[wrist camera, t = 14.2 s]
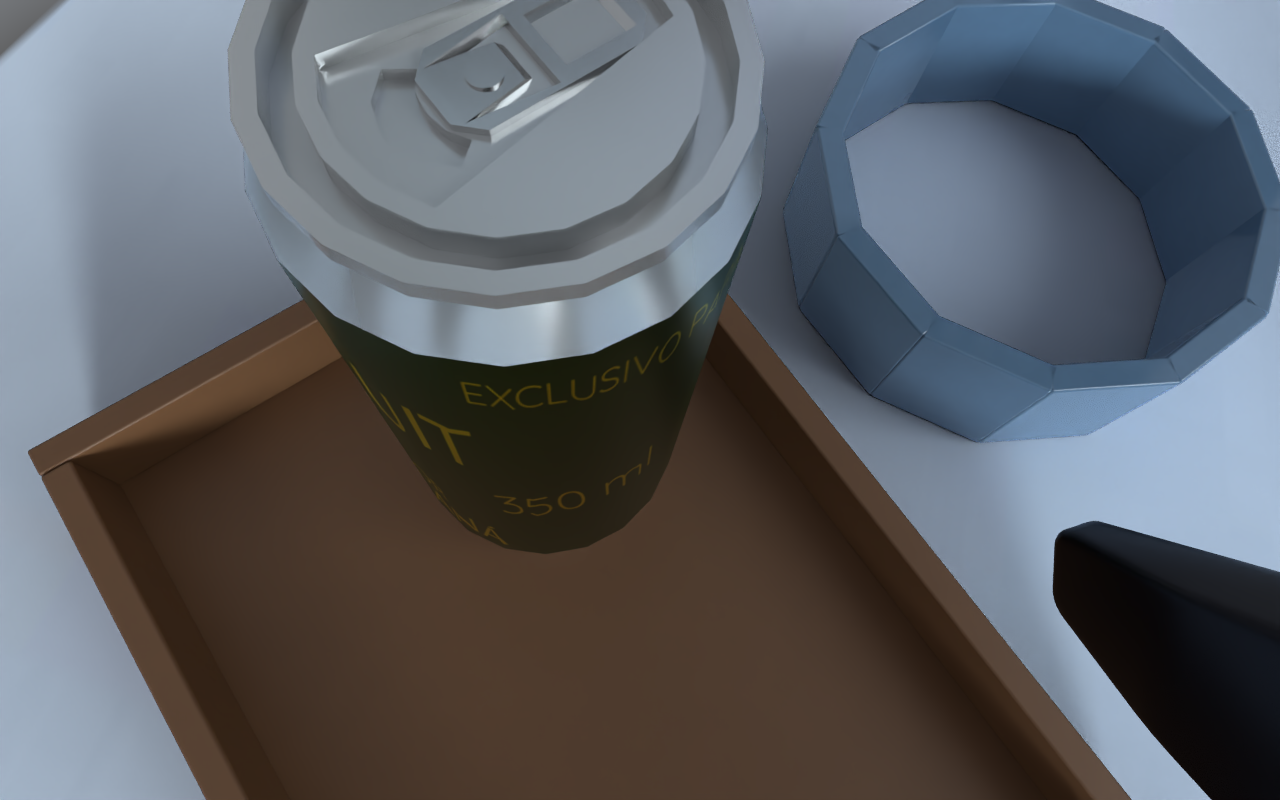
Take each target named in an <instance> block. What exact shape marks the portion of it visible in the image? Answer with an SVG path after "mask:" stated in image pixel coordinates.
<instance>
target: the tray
mask: <svg viewBox="0 0 1280 800" xmlns="http://www.w3.org/2000/svg"><path fill="white" fill-rule="evenodd" d="M28 454H29V456H30V458H31V460H32V462H33V464H34V466H35V467H36V469H37V471H38V473H39V475H41V476H42V481H43V482H44V484H45V486H46V488H47V490H48V492H49V494H50V496H51V498H52V500H53V502H54V504H55V506H56V508H57V510H58V512H59V514H60V516H61V518H62V520H63V521H64V523H65V525H66V527H67V529H68V531H69V533H70V535H71V537H72V539H73V541H74V543H75V545H76V547H77V549H78V551H79V553H80V555H81V557H82V559H83V561H84V562H85V564H86V566H87V568H88V570H89V572H90V574H91V576H92V578H93V580H94V582H95V584H96V586H97V588H98V590H99V592H100V594H101V596H102V598H103V600H104V601H105V603H106V605H107V607H108V609H109V611H110V613H111V615H112V617H113V619H114V621H115V623H116V625H117V627H118V629H119V631H120V633H121V635H122V637H123V639H124V640H125V642H126V644H127V646H128V648H129V650H130V652H131V654H132V656H133V658H134V660H135V662H136V664H137V666H138V668H139V670H140V672H141V674H142V676H143V678H144V679H145V681H146V683H147V685H148V687H149V689H150V691H151V693H152V695H153V697H154V699H155V701H156V703H157V705H158V707H159V709H160V711H161V713H162V715H163V717H164V719H165V720H166V722H167V724H168V726H169V728H170V730H171V732H172V734H173V736H174V738H175V740H176V742H177V744H178V746H179V748H180V750H181V752H182V754H183V756H184V758H185V759H186V761H187V763H188V765H189V767H190V769H191V771H192V773H193V775H194V777H195V779H196V781H197V783H198V785H199V787H200V789H201V791H202V793H203V795H204V797H205V798H206V800H1131V798H1130V797H1129V796H1128V795H1127V793H1126V792H1125V791H1124V790H1123V788H1122V787H1121V786H1120V785H1119V783H1118V782H1117V781H1116V780H1115V778H1114V777H1113V776H1112V775H1111V773H1110V772H1109V771H1108V770H1107V768H1106V767H1105V766H1104V765H1103V763H1102V762H1101V761H1100V760H1099V758H1098V757H1097V756H1096V754H1095V753H1094V752H1093V751H1092V749H1091V748H1090V747H1089V746H1088V744H1087V743H1086V742H1085V741H1084V739H1083V738H1082V737H1081V736H1080V734H1079V733H1078V732H1077V731H1076V729H1075V728H1074V727H1073V726H1072V724H1071V723H1070V722H1069V721H1068V719H1067V718H1066V717H1065V716H1064V714H1063V713H1062V712H1061V711H1060V709H1059V708H1058V707H1057V706H1056V704H1055V703H1054V702H1053V701H1052V699H1051V698H1050V697H1049V696H1048V694H1047V693H1046V692H1045V691H1044V689H1043V688H1042V687H1041V686H1040V684H1039V683H1038V682H1037V681H1036V679H1035V678H1034V677H1033V676H1032V674H1031V673H1030V672H1029V671H1028V669H1027V668H1026V667H1025V665H1024V664H1023V663H1022V662H1021V660H1020V659H1019V658H1018V657H1017V655H1016V654H1015V653H1014V652H1013V650H1012V649H1011V648H1010V647H1009V645H1008V644H1007V643H1006V642H1005V640H1004V639H1003V638H1002V637H1001V635H1000V634H999V633H998V632H997V630H996V629H995V628H994V627H993V625H992V624H991V623H990V622H989V620H988V619H987V618H986V617H985V615H984V614H983V613H982V612H981V610H980V609H979V608H978V607H977V605H976V604H975V603H974V602H973V600H972V599H971V598H970V597H969V595H968V594H967V593H966V592H965V590H964V589H963V588H962V587H961V585H960V584H959V583H958V581H957V580H956V579H955V578H954V576H953V575H952V574H951V573H950V571H949V570H948V569H947V568H946V566H945V565H944V564H943V563H942V561H941V560H940V559H939V558H938V556H937V555H936V554H935V553H934V551H933V550H932V549H931V548H930V546H929V545H928V544H927V543H926V541H925V540H924V539H923V538H922V536H921V535H920V534H919V533H918V531H917V530H916V529H915V528H914V526H913V525H912V524H911V523H910V521H909V520H908V519H907V518H906V516H905V515H904V514H903V513H902V511H901V510H900V509H899V508H898V506H897V505H896V504H895V503H894V501H893V500H892V499H891V498H890V496H889V495H888V494H887V492H886V491H885V490H884V489H883V487H882V486H881V485H880V484H879V482H878V481H877V480H876V479H875V477H874V476H873V475H872V474H871V472H870V471H869V470H868V469H867V467H866V466H865V465H864V464H863V462H862V461H861V460H860V459H859V457H858V456H857V455H856V454H855V452H854V451H853V450H852V449H851V447H850V446H849V445H848V444H847V442H846V441H845V440H844V439H843V437H842V436H841V435H840V434H839V432H838V431H837V430H836V429H835V427H834V426H833V425H832V424H831V422H830V421H829V420H828V419H827V417H826V416H825V415H824V414H823V412H822V411H821V410H820V408H819V407H818V406H817V405H816V403H815V402H814V401H813V400H812V398H811V397H810V396H809V395H808V393H807V392H806V391H805V390H804V388H803V387H802V386H801V385H800V383H799V382H798V381H797V380H796V378H795V377H794V376H793V375H792V373H791V372H790V371H789V370H788V368H787V367H786V366H785V365H784V363H783V362H782V361H781V360H780V358H779V357H778V356H777V355H776V353H775V352H774V351H773V350H772V348H771V347H770V346H769V345H768V343H767V342H766V341H765V340H764V338H763V337H762V336H761V335H760V333H759V332H758V331H757V330H756V328H755V327H754V326H753V325H752V323H751V322H750V321H749V319H748V318H747V317H746V316H745V314H744V313H743V312H742V311H741V309H740V308H739V307H738V306H737V304H736V303H735V302H734V301H733V299H732V298H731V297H730V296H729V294H728V293H727V296H726V299H725V302H724V305H723V308H722V311H721V314H720V316H719V319H718V322H717V325H716V328H715V331H714V334H713V337H712V339H711V342H710V345H709V348H708V351H707V354H706V357H705V360H704V362H703V365H702V368H701V371H700V374H699V377H698V380H697V382H696V385H695V388H694V391H693V394H692V397H691V400H690V403H689V405H688V408H687V411H686V414H685V417H684V420H683V423H682V426H681V428H680V431H679V434H678V437H677V440H676V443H675V446H674V449H673V451H672V454H671V457H670V460H669V463H668V465H667V467H666V470H665V472H664V474H663V476H662V478H661V480H660V482H659V484H658V486H657V488H656V490H655V492H654V494H653V496H652V499H651V500H650V501H649V502H648V503H647V504H646V505H645V506H644V507H643V508H642V509H641V510H640V511H639V512H638V513H637V514H636V515H635V516H634V517H633V518H632V519H631V520H630V522H629V523H628V524H627V525H626V526H625V527H624V528H622V529H620V530H618V531H616V532H615V533H613V534H611V535H609V536H607V537H605V538H603V539H601V540H599V541H597V542H596V543H594V544H592V545H590V546H588V547H584V548H579V549H573V550H567V551H562V552H556V553H550V554H540V553H533V552H526V551H519V550H512V549H505V548H503V547H501V546H499V545H497V544H495V543H493V542H491V541H488V540H486V539H484V538H482V537H480V536H478V535H476V534H474V533H472V532H470V531H468V530H467V529H466V528H465V527H464V526H463V525H462V524H461V523H460V522H459V521H458V520H457V519H456V518H455V517H454V516H453V515H452V514H451V513H450V512H449V511H448V510H447V509H446V508H445V507H444V506H443V505H442V504H441V503H440V502H439V500H438V499H437V497H436V496H435V494H434V493H433V491H432V490H431V488H430V487H429V485H428V484H427V483H426V481H425V480H424V478H423V477H422V475H421V474H420V472H419V471H418V469H417V468H416V466H415V465H414V463H413V462H412V460H411V459H410V457H409V456H408V454H407V453H406V451H405V450H404V448H403V447H402V445H401V444H400V442H399V441H398V439H397V438H396V436H395V435H394V433H393V432H392V430H391V429H390V427H389V426H388V424H387V423H386V421H385V420H384V418H383V417H382V415H381V414H380V412H379V411H378V409H377V408H376V406H375V405H374V403H373V402H372V400H371V399H370V397H369V396H368V395H367V393H366V392H365V390H364V389H363V387H362V386H361V384H360V383H359V381H358V380H357V378H356V377H355V375H354V374H353V372H352V371H351V369H350V368H349V366H348V365H347V363H346V362H345V360H344V359H343V357H342V356H341V354H340V353H339V351H338V350H337V348H336V347H335V345H334V344H333V342H332V341H331V339H330V338H329V336H328V335H327V333H326V332H325V330H324V329H323V327H322V326H321V324H320V323H319V321H318V320H317V318H316V317H315V315H314V314H313V312H312V311H311V310H310V308H309V307H308V305H307V304H306V302H305V301H304V299H303V300H302V301H300V302H298V303H296V304H294V305H292V306H291V307H289V308H287V309H285V310H283V311H282V312H280V313H278V314H276V315H274V316H272V317H271V318H269V319H267V320H265V321H263V322H262V323H260V324H258V325H256V326H254V327H252V328H251V329H249V330H247V331H245V332H243V333H242V334H240V335H238V336H236V337H234V338H232V339H231V340H229V341H227V342H225V343H223V344H222V345H220V346H218V347H216V348H214V349H212V350H211V351H209V352H207V353H205V354H203V355H202V356H200V357H198V358H196V359H194V360H192V361H191V362H189V363H187V364H185V365H183V366H182V367H180V368H178V369H176V370H174V371H172V372H171V373H169V374H167V375H165V376H163V377H162V378H160V379H158V380H156V381H154V382H152V383H151V384H149V385H147V386H145V387H143V388H142V389H140V390H138V391H136V392H134V393H132V394H131V395H129V396H127V397H125V398H123V399H122V400H120V401H118V402H116V403H114V404H112V405H111V406H109V407H107V408H105V409H103V410H101V411H100V412H98V413H96V414H94V415H92V416H91V417H89V418H87V419H85V420H83V421H81V422H80V423H78V424H76V425H74V426H72V427H71V428H69V429H67V430H65V431H63V432H61V433H60V434H58V435H56V436H54V437H52V438H51V439H49V440H47V441H45V442H43V443H41V444H40V445H38V446H36V447H34V448H32V449H31V450H29V451H28Z"/></svg>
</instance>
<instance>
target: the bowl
mask: <svg viewBox="0 0 1280 800" xmlns="http://www.w3.org/2000/svg"><path fill="white" fill-rule="evenodd" d="M978 100H992V101H995V102H997V103H1000V104H1002V105H1005V106H1007V107H1010V108H1012V109H1015V110H1017V111H1019V112H1022V113H1024V114H1027V115H1029V116H1032V117H1034V118H1037V119H1039V120H1042V121H1044V122H1046V123H1049V124H1051V125H1054V126H1056V127H1059V128H1061V129H1064V130H1066V131H1069V132H1071V133H1073V134H1076V135H1077V136H1078V137H1079V138H1080V139H1081V140H1082V141H1083V142H1084V143H1085V144H1086V145H1087V146H1088V147H1089V148H1090V149H1091V150H1092V151H1093V152H1094V153H1095V154H1096V155H1097V156H1098V157H1099V158H1100V159H1101V160H1102V161H1103V162H1104V163H1105V164H1106V165H1107V166H1108V167H1109V168H1110V169H1111V170H1112V171H1113V172H1114V173H1115V174H1116V175H1117V176H1118V177H1119V178H1120V179H1121V180H1122V181H1123V183H1124V184H1125V185H1126V186H1127V187H1128V188H1129V189H1130V190H1131V191H1132V192H1133V193H1134V194H1135V195H1136V196H1137V197H1138V198H1139V199H1140V202H1141V205H1142V208H1143V211H1144V214H1145V217H1146V221H1147V224H1148V227H1149V230H1150V233H1151V236H1152V239H1153V242H1154V245H1155V248H1156V252H1157V255H1158V258H1159V261H1160V264H1161V267H1162V270H1163V273H1164V276H1165V280H1166V285H1165V289H1164V292H1163V296H1162V299H1161V303H1160V307H1159V310H1158V314H1157V318H1156V321H1155V325H1154V329H1153V332H1152V336H1151V339H1150V343H1149V347H1148V350H1147V354H1146V358H1145V359H1134V360H1119V361H1103V362H1088V363H1073V364H1057V365H1052V364H1049V363H1047V362H1045V361H1042V360H1040V359H1038V358H1036V357H1033V356H1031V355H1029V354H1026V353H1024V352H1022V351H1019V350H1017V349H1015V348H1012V347H1010V346H1008V345H1005V344H1003V343H1001V342H998V341H996V340H994V339H992V338H989V337H987V336H985V335H982V334H980V333H978V332H975V331H973V330H971V329H968V328H966V327H964V326H961V325H959V324H957V323H955V322H952V321H950V320H948V319H945V318H943V317H941V316H939V315H938V314H937V313H936V312H935V311H934V309H933V308H932V307H931V306H930V305H929V304H928V303H927V301H926V300H925V299H924V298H923V297H922V296H921V294H920V293H919V292H918V291H917V290H916V289H915V288H914V286H913V285H912V284H911V283H910V282H909V281H908V280H907V278H906V277H905V276H904V275H903V274H902V273H901V271H900V270H899V269H898V268H897V267H896V266H895V265H894V263H893V262H892V261H891V260H890V259H889V258H888V256H887V255H886V254H885V253H884V252H883V251H882V250H881V248H880V247H879V246H878V245H877V244H876V243H875V241H874V240H873V239H872V238H871V237H870V236H869V235H868V233H867V232H866V231H865V230H864V229H863V228H862V224H861V219H860V214H859V209H858V204H857V199H856V194H855V189H854V184H853V179H852V174H851V169H850V164H849V159H848V154H847V149H846V144H845V140H846V139H848V138H849V137H851V136H853V135H854V134H856V133H858V132H859V131H861V130H863V129H864V128H866V127H868V126H869V125H871V124H873V123H874V122H876V121H878V120H879V119H881V118H883V117H884V116H886V115H888V114H889V113H891V112H893V111H894V110H896V109H898V108H899V107H901V106H903V105H904V104H906V103H924V102H951V101H978ZM783 215H784V221H785V227H786V233H787V239H788V245H789V251H790V257H791V263H792V270H793V276H794V282H795V288H796V294H797V300H798V305H799V307H800V310H801V311H802V313H803V314H804V315H805V316H806V318H807V319H808V320H809V321H810V322H811V324H812V325H813V326H814V327H815V328H816V330H817V331H818V332H819V333H820V335H821V336H822V337H823V338H824V339H825V341H826V342H827V343H828V344H829V346H830V347H831V348H832V349H833V350H834V352H835V353H836V354H837V355H838V357H839V358H840V359H841V360H842V361H843V363H844V364H845V365H846V366H847V368H848V369H849V370H850V371H851V372H852V374H853V375H854V376H855V377H856V379H857V380H858V381H859V382H860V383H861V385H862V386H863V387H864V388H865V390H866V391H867V392H868V393H869V394H871V395H872V396H874V397H876V398H878V399H880V400H883V401H885V402H887V403H889V404H892V405H894V406H896V407H898V408H901V409H903V410H905V411H907V412H910V413H912V414H914V415H916V416H919V417H921V418H923V419H925V420H928V421H930V422H932V423H934V424H937V425H939V426H941V427H943V428H946V429H948V430H950V431H952V432H955V433H957V434H959V435H961V436H964V437H966V438H968V439H970V440H973V441H975V442H981V443H984V442H998V441H1011V440H1025V439H1039V438H1053V437H1066V436H1080V435H1088V434H1089V433H1093V432H1095V431H1096V430H1098V429H1100V428H1102V427H1104V426H1105V425H1107V424H1109V423H1111V422H1113V421H1114V420H1116V419H1118V418H1120V417H1122V416H1124V415H1125V414H1127V413H1129V412H1131V411H1133V410H1134V409H1136V408H1138V407H1140V406H1142V405H1143V404H1145V403H1147V402H1149V401H1151V400H1153V399H1154V398H1156V397H1158V396H1160V395H1162V394H1163V393H1165V392H1167V391H1169V390H1171V389H1172V388H1174V387H1176V386H1178V385H1180V384H1182V383H1183V382H1184V381H1186V380H1187V379H1188V378H1190V377H1191V376H1192V375H1193V374H1195V373H1196V372H1197V371H1199V370H1200V369H1201V368H1202V367H1204V366H1205V365H1206V364H1207V363H1209V362H1210V361H1211V360H1213V359H1214V358H1215V357H1216V356H1218V355H1219V354H1220V353H1222V352H1223V351H1224V350H1225V349H1227V348H1228V347H1229V346H1230V345H1232V344H1233V343H1234V342H1236V341H1237V340H1238V339H1239V338H1241V337H1242V336H1243V335H1245V334H1246V333H1247V332H1248V331H1250V330H1251V329H1252V328H1253V327H1255V326H1256V325H1257V324H1259V323H1260V322H1261V321H1262V320H1264V319H1265V318H1266V316H1267V314H1268V313H1269V311H1270V306H1271V302H1272V297H1273V293H1274V288H1275V284H1276V280H1277V275H1278V271H1279V266H1280V181H1279V178H1278V176H1277V173H1276V170H1275V168H1274V165H1273V163H1272V160H1271V157H1270V155H1269V152H1268V150H1267V147H1266V144H1265V142H1264V139H1263V137H1262V134H1261V131H1260V129H1259V126H1258V124H1257V121H1256V118H1255V116H1254V113H1253V111H1252V110H1250V108H1249V106H1248V105H1247V104H1245V103H1244V102H1243V101H1242V100H1241V99H1240V98H1239V97H1238V96H1237V95H1236V94H1235V93H1234V92H1233V91H1232V90H1231V89H1230V88H1228V87H1227V86H1226V85H1225V84H1224V83H1223V82H1222V81H1221V80H1220V79H1219V78H1218V77H1217V76H1216V75H1215V74H1214V73H1213V72H1212V71H1210V70H1209V69H1208V68H1207V67H1206V66H1205V65H1204V64H1203V63H1202V62H1201V61H1200V60H1199V59H1198V58H1197V57H1196V56H1195V55H1194V54H1192V53H1191V52H1190V51H1189V50H1188V49H1187V48H1186V47H1185V46H1184V45H1183V44H1182V43H1181V42H1180V41H1179V40H1178V39H1177V38H1175V37H1174V36H1173V35H1172V34H1171V33H1170V32H1169V31H1168V30H1165V28H1164V27H1162V26H1160V25H1157V24H1154V23H1152V22H1149V21H1147V20H1144V19H1142V18H1139V17H1137V16H1134V15H1132V14H1129V13H1126V12H1124V11H1121V10H1119V9H1116V8H1114V7H1111V6H1109V5H1106V4H1103V3H1101V2H1098V1H1096V0H924V1H922V2H920V3H918V4H917V5H915V6H913V7H911V8H909V9H908V10H906V11H904V12H902V13H901V14H899V15H897V16H895V17H894V18H892V19H890V20H888V21H886V22H885V23H883V24H881V25H879V26H878V27H876V28H874V29H872V30H871V31H869V32H867V33H865V34H863V35H862V36H860V37H859V38H858V39H857V40H856V43H855V45H854V47H853V49H852V51H851V53H850V55H849V57H848V59H847V62H846V64H845V66H844V68H843V70H842V72H841V74H840V76H839V78H838V81H837V83H836V85H835V87H834V89H833V91H832V93H831V95H830V97H829V100H828V102H827V104H826V106H825V108H824V110H823V112H822V114H821V116H820V119H819V121H818V123H817V125H816V127H815V130H814V133H813V135H812V138H811V140H810V143H809V145H808V148H807V150H806V153H805V155H804V158H803V160H802V163H801V165H800V168H799V170H798V173H797V175H796V178H795V180H794V183H793V185H792V188H791V190H790V193H789V195H788V198H787V201H786V203H785V206H784V208H783Z"/></svg>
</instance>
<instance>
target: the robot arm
mask: <svg viewBox="0 0 1280 800" xmlns="http://www.w3.org/2000/svg"><path fill="white" fill-rule="evenodd" d="M1053 596H1054V600H1055V603H1056V606H1057V608H1058V610H1059V612H1060V613H1061V615H1062V616H1063V618H1064V619H1065V621H1066V622H1067V623H1068V624H1069V626H1070V627H1071V628H1072V630H1073V631H1074V632H1075V634H1076V635H1077V636H1078V638H1079V639H1080V640H1081V642H1082V643H1083V644H1084V646H1085V647H1086V648H1087V650H1088V651H1089V652H1090V654H1091V655H1092V656H1093V658H1094V659H1095V660H1096V662H1097V663H1098V664H1099V666H1100V667H1101V668H1102V670H1103V671H1104V672H1105V673H1106V675H1107V676H1108V677H1109V679H1110V680H1111V681H1112V683H1113V684H1114V685H1115V687H1116V688H1117V689H1118V691H1119V692H1120V693H1121V695H1122V696H1123V697H1124V699H1125V700H1126V701H1127V703H1128V704H1129V705H1130V707H1131V708H1132V709H1133V711H1134V712H1135V713H1136V715H1137V716H1138V717H1139V718H1140V720H1141V721H1142V722H1143V723H1144V724H1145V726H1146V727H1147V728H1148V729H1149V731H1150V732H1151V733H1152V734H1153V736H1154V737H1155V738H1156V739H1157V740H1158V741H1159V742H1160V744H1161V745H1162V746H1163V747H1164V748H1165V749H1166V750H1167V752H1168V753H1169V754H1170V755H1171V756H1172V757H1173V758H1174V759H1175V760H1176V761H1177V763H1178V764H1179V765H1180V766H1181V767H1182V768H1183V769H1184V770H1185V771H1186V772H1187V773H1188V775H1189V776H1190V777H1191V778H1192V779H1193V780H1194V781H1195V782H1196V783H1197V784H1198V785H1199V787H1200V788H1201V789H1202V790H1203V791H1204V792H1205V793H1206V794H1207V795H1208V796H1209V797H1210V799H1211V800H1280V572H1278V571H1274V570H1271V569H1267V568H1263V567H1260V566H1256V565H1253V564H1249V563H1246V562H1242V561H1239V560H1235V559H1231V558H1228V557H1224V556H1221V555H1217V554H1214V553H1210V552H1207V551H1203V550H1199V549H1196V548H1192V547H1189V546H1185V545H1182V544H1178V543H1174V542H1171V541H1167V540H1164V539H1160V538H1157V537H1153V536H1150V535H1146V534H1142V533H1139V532H1135V531H1132V530H1128V529H1125V528H1121V527H1117V526H1114V525H1110V524H1107V523H1103V522H1099V521H1091V522H1086V523H1083V524H1080V525H1077V526H1075V527H1072V528H1069V529H1066V530H1063V531H1062V532H1060V533H1059V534H1058V536H1057V538H1056V540H1055V547H1054V572H1053Z"/></svg>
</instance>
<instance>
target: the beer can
mask: <svg viewBox="0 0 1280 800" xmlns="http://www.w3.org/2000/svg"><path fill="white" fill-rule="evenodd" d="M764 65H765V60H764V56H763V53H762V49H761V46H760V42H759V39H758V35H757V32H756V28H755V25H754V21H753V18H752V14H751V11H750V7H749V4H748V0H246V1H245V3H244V6H243V9H242V12H241V14H240V17H239V20H238V23H237V25H236V28H235V31H234V34H233V36H232V39H231V42H230V45H229V48H228V68H229V92H230V115H231V122H232V124H233V126H234V128H235V130H236V132H237V135H238V137H239V139H240V141H241V143H242V145H243V153H244V175H245V192H246V194H247V196H248V198H249V200H250V202H251V205H252V207H253V209H254V211H255V213H256V215H257V217H258V220H259V222H260V224H261V226H262V228H263V230H264V233H265V235H266V237H267V239H268V241H269V243H270V246H271V248H272V250H273V252H274V254H275V256H276V259H277V260H278V262H279V263H280V265H281V266H282V268H283V269H284V271H285V272H286V274H287V275H288V277H289V278H290V280H291V281H292V283H293V284H294V286H295V287H296V289H297V290H298V292H299V293H300V295H301V296H302V298H303V299H304V301H305V302H306V304H307V305H308V307H309V308H310V310H311V311H312V312H313V314H314V315H315V317H316V318H317V320H318V321H319V323H320V324H321V326H322V327H323V329H324V330H325V332H326V333H327V335H328V336H329V338H330V339H331V341H332V342H333V344H334V345H335V347H336V348H337V350H338V351H339V353H340V354H341V356H342V357H343V359H344V360H345V362H346V363H347V365H348V366H349V368H350V369H351V371H352V372H353V374H354V375H355V377H356V378H357V380H358V381H359V383H360V384H361V386H362V387H363V389H364V390H365V392H366V393H367V395H368V396H369V397H370V399H371V400H372V402H373V403H374V405H375V406H376V408H377V409H378V411H379V412H380V414H381V415H382V417H383V418H384V420H385V421H386V423H387V424H388V426H389V427H390V429H391V430H392V432H393V433H394V435H395V436H396V438H397V439H398V441H399V442H400V444H401V445H402V447H403V448H404V450H405V451H406V453H407V454H408V456H409V457H410V459H411V460H412V462H413V463H414V465H415V466H416V468H417V469H418V471H419V472H420V474H421V475H422V477H423V478H424V480H425V481H426V483H427V484H428V485H429V487H430V488H431V490H432V491H433V493H434V494H435V496H436V497H437V499H438V500H439V502H440V503H441V504H442V505H443V506H444V507H445V508H446V509H447V510H448V511H449V512H450V513H451V514H452V515H453V516H454V517H455V518H456V519H457V520H458V521H459V522H460V523H461V524H462V525H463V526H464V527H465V528H466V529H467V530H468V531H470V532H472V533H474V534H476V535H478V536H480V537H482V538H484V539H486V540H488V541H491V542H493V543H495V544H497V545H499V546H501V547H503V548H505V549H512V550H519V551H526V552H533V553H540V554H550V553H556V552H562V551H567V550H573V549H579V548H584V547H588V546H590V545H592V544H594V543H596V542H597V541H599V540H601V539H603V538H605V537H607V536H609V535H611V534H613V533H615V532H616V531H618V530H620V529H622V528H624V527H625V526H626V525H627V524H628V523H629V522H630V520H631V519H632V518H633V517H634V516H635V515H636V514H637V513H638V512H639V511H640V510H641V509H642V508H643V507H644V506H645V505H646V504H647V503H648V502H649V501H650V500H651V499H652V496H653V494H654V492H655V490H656V488H657V486H658V484H659V482H660V480H661V478H662V476H663V474H664V472H665V470H666V467H667V465H668V463H669V460H670V457H671V454H672V451H673V449H674V446H675V443H676V440H677V437H678V434H679V431H680V428H681V426H682V423H683V420H684V417H685V414H686V411H687V408H688V405H689V403H690V400H691V397H692V394H693V391H694V388H695V385H696V382H697V380H698V377H699V374H700V371H701V368H702V365H703V362H704V360H705V357H706V354H707V351H708V348H709V345H710V342H711V339H712V337H713V334H714V331H715V328H716V325H717V322H718V319H719V316H720V314H721V311H722V308H723V305H724V302H725V299H726V296H727V293H728V291H729V288H730V285H731V282H732V279H733V276H734V273H735V270H736V268H737V265H738V262H739V259H740V256H741V253H742V250H743V247H744V245H745V242H746V239H747V236H748V233H749V230H750V227H751V224H752V222H753V219H754V216H755V213H756V210H757V207H758V204H759V201H760V199H761V193H762V183H763V172H764V162H765V152H766V141H767V131H768V128H767V124H766V120H765V117H764V113H763V110H762V106H761V94H762V84H763V75H764Z"/></svg>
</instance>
